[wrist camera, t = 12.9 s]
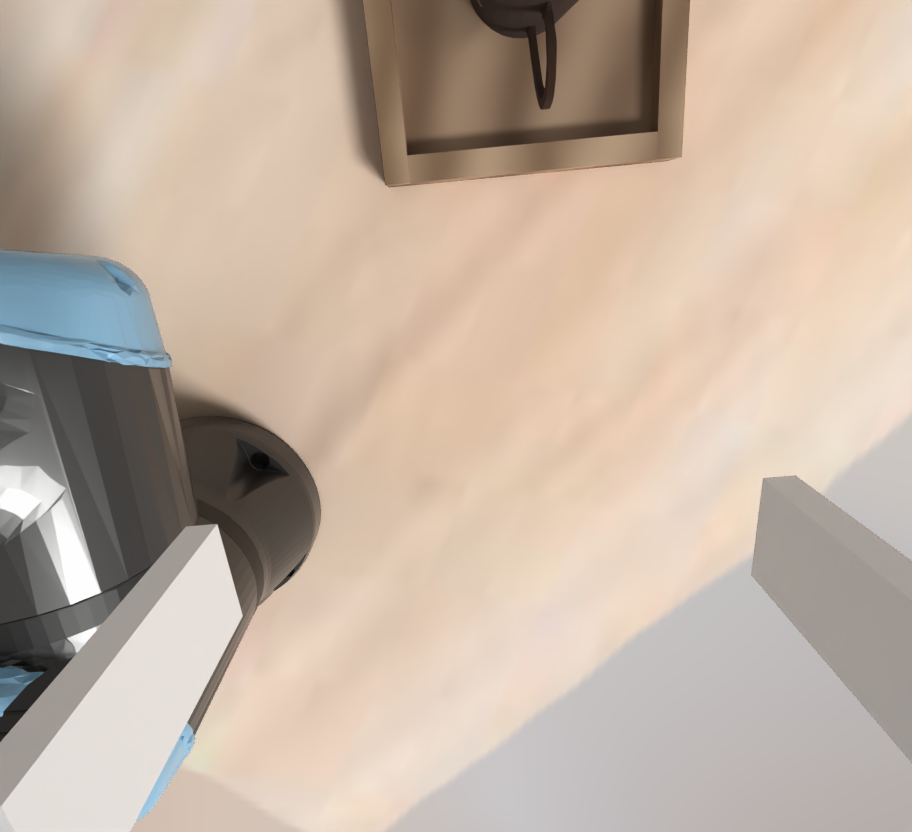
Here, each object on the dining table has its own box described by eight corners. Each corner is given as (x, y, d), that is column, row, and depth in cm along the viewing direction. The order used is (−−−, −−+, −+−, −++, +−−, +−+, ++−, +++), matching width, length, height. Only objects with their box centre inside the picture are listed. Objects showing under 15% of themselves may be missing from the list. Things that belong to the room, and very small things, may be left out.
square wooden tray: (389, 187, 35) (385, 185, 33) (345, -176, 29) (336, -210, 26) (666, 161, 34) (681, 156, 32) (682, -213, 28) (702, -250, 26)
